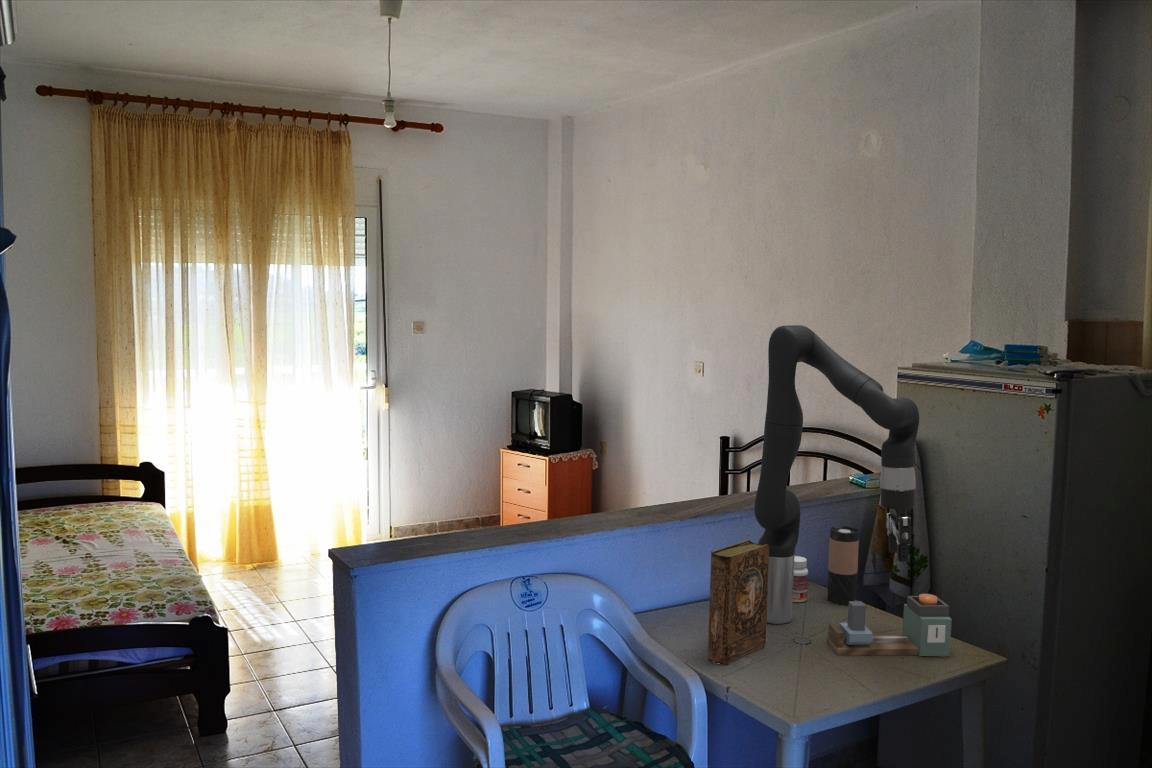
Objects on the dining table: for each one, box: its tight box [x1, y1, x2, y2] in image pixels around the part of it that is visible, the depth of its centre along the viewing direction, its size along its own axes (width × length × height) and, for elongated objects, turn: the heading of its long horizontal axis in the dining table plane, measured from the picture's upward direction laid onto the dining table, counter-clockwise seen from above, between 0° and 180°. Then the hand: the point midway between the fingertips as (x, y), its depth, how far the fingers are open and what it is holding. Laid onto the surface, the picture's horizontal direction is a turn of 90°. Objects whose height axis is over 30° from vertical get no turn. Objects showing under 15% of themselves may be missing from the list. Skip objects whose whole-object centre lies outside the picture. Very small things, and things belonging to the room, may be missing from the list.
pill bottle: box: [793, 555, 809, 603], centre depth 248 cm, size 6×6×11 cm
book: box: [707, 539, 769, 665], centre depth 210 cm, size 16×6×25 cm, turn 134°
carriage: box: [838, 600, 874, 645], centre depth 214 cm, size 6×7×9 cm
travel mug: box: [827, 525, 860, 606], centre depth 246 cm, size 8×8×20 cm
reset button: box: [918, 593, 938, 605], centre depth 214 cm, size 4×4×2 cm
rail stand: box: [826, 623, 919, 657], centre depth 215 cm, size 19×8×5 cm, turn 93°
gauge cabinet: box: [901, 595, 953, 658], centre depth 215 cm, size 7×10×12 cm, turn 3°
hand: (898, 556), depth 207 cm, fingers open, 8 cm apart
